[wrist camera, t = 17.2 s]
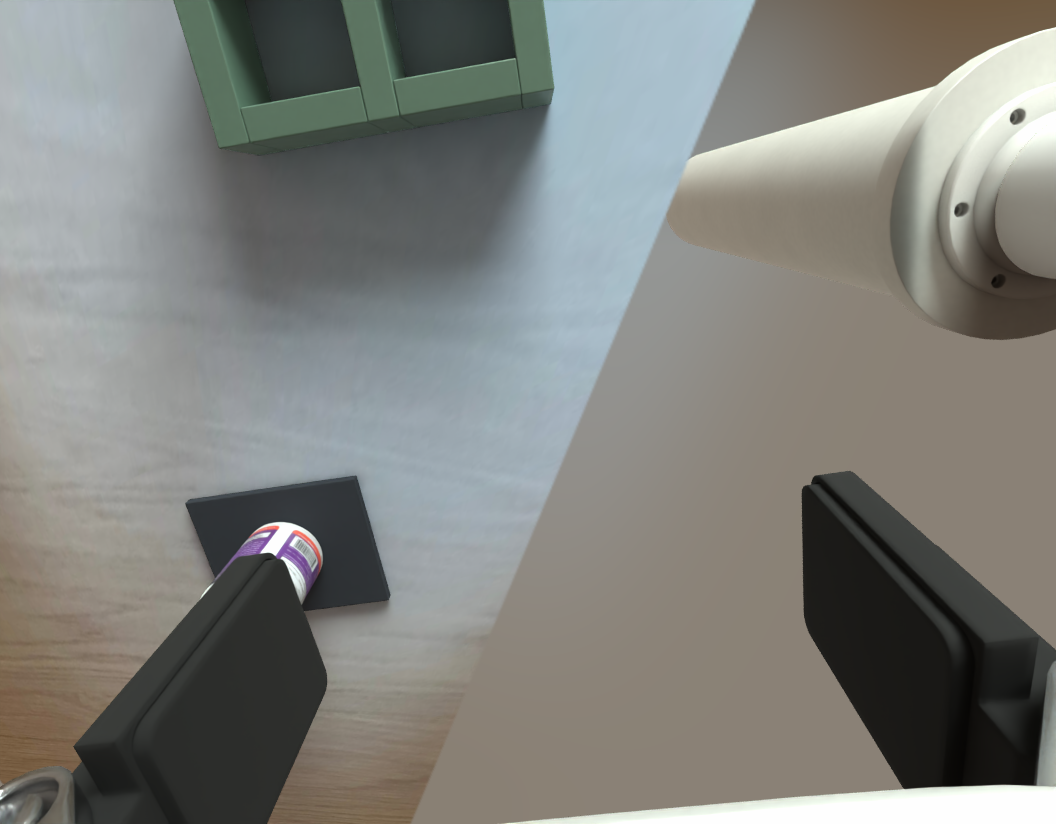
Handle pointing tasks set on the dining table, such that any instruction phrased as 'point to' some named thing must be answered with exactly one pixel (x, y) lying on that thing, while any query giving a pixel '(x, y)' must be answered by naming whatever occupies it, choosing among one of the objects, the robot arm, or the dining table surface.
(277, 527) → the pill bottle
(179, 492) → the dining table surface
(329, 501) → the mat
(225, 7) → the open bin with compartments
